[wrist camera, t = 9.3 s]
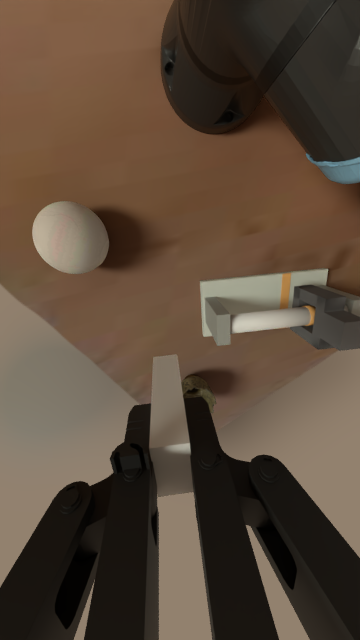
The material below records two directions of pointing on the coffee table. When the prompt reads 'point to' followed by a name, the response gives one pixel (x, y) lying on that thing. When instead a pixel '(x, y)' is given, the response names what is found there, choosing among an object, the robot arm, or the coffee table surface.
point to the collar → (327, 319)
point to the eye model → (70, 237)
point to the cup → (198, 390)
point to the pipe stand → (261, 303)
